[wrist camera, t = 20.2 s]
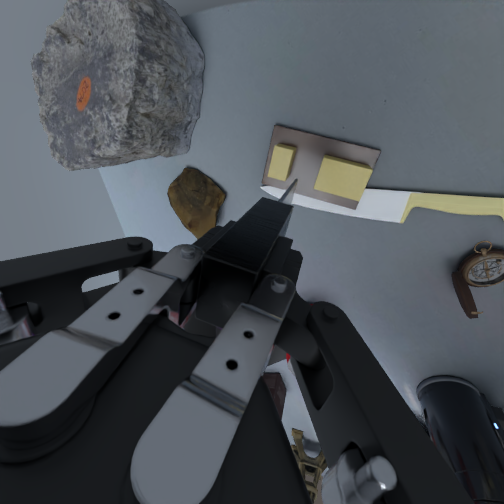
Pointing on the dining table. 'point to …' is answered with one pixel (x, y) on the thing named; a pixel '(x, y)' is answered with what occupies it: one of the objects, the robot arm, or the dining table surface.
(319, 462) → the eiffel tower
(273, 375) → the box
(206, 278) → the chef knife
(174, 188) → the decorative stone
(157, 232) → the dining table surface
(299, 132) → the butter board
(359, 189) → the butter
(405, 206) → the knife
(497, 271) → the compass
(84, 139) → the petrified wood
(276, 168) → the butter slice
